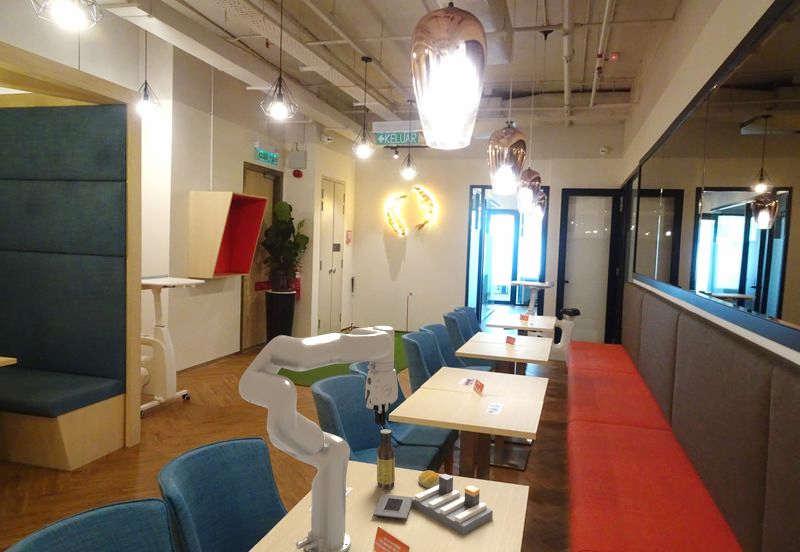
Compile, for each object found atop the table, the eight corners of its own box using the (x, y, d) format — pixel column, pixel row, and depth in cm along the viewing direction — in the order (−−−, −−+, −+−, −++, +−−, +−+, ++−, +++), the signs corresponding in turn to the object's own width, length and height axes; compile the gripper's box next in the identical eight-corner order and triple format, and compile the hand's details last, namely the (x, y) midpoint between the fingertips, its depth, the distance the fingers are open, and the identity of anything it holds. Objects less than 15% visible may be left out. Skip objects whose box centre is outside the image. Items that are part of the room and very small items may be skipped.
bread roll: (431, 475, 194) (432, 465, 194) (446, 485, 187) (447, 474, 186) (413, 481, 190) (413, 470, 189) (428, 491, 182) (428, 480, 182)
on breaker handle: (446, 496, 173) (447, 479, 172) (438, 492, 175) (439, 476, 175) (452, 493, 175) (453, 477, 174) (444, 489, 177) (445, 473, 177)
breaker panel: (463, 534, 155) (464, 522, 155) (411, 506, 171) (411, 494, 171) (492, 518, 165) (492, 506, 165) (440, 492, 181) (440, 481, 181)
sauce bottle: (385, 480, 190) (386, 426, 188) (398, 485, 185) (399, 430, 184) (372, 486, 185) (373, 430, 183) (386, 492, 181) (387, 435, 179)
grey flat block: (406, 524, 161) (406, 516, 161) (372, 520, 163) (372, 512, 163) (413, 503, 174) (413, 496, 174) (382, 499, 176) (382, 493, 176)
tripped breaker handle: (473, 509, 165) (473, 492, 164) (464, 504, 167) (464, 488, 167) (479, 505, 167) (479, 489, 167) (470, 501, 169) (470, 485, 169)
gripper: (370, 372, 156) (369, 432, 157) (407, 365, 166) (405, 422, 167) (355, 367, 161) (353, 426, 162) (391, 360, 171) (390, 416, 172)
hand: (380, 423), depth 165 cm, fingers closed
